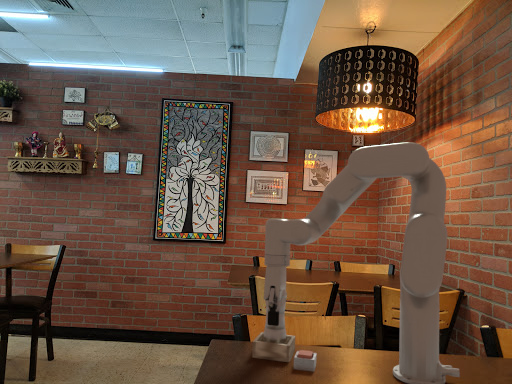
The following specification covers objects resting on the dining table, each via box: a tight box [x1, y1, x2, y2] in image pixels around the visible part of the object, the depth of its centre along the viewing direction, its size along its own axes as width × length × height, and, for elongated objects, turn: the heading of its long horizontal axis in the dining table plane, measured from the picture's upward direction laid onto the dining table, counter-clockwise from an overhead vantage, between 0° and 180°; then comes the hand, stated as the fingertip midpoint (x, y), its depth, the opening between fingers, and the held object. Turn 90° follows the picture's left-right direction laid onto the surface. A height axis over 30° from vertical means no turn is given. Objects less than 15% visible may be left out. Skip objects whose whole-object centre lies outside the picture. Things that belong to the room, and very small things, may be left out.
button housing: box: [293, 350, 317, 373], centre depth 109 cm, size 5×5×3 cm
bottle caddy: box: [252, 331, 296, 363], centre depth 118 cm, size 11×10×4 cm
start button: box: [298, 349, 314, 359], centre depth 109 cm, size 4×4×3 cm
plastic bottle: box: [263, 288, 288, 344], centre depth 118 cm, size 6×7×20 cm
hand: (275, 321), depth 118 cm, fingers closed on plastic bottle, 5 cm apart
